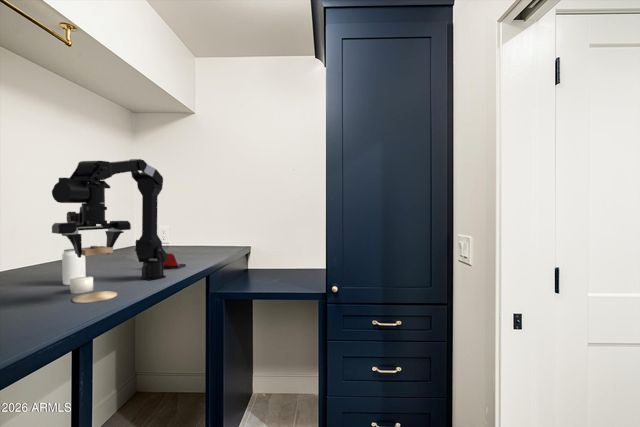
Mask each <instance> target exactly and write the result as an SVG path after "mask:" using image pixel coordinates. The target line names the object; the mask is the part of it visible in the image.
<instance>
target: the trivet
mask: <svg viewBox="0 0 640 427" xmlns="http://www.w3.org/2000/svg"><path fill="white" fill-rule="evenodd" d="M117 296H118V292H116V291H112V290H111V291H110V290H108V291H105V290H104V291H95V292H94V291H93V292H86V293H82V294H79V295H77V296H74V297H73V298H72V302H73V303H76V304H87V303H97V302H98V303H99V302H104V301H107V300H111V299H113V298H116V297H117Z"/></svg>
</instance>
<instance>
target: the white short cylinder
mask: <svg viewBox="0 0 640 427" xmlns="http://www.w3.org/2000/svg"><path fill="white" fill-rule="evenodd" d="M92 291H94V277H93V276H86V277H78V278H73V279H70V285H69V294H75V295H76V294H86V293H91V292H92Z"/></svg>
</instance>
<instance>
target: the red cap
mask: <svg viewBox="0 0 640 427" xmlns="http://www.w3.org/2000/svg"><path fill="white" fill-rule="evenodd" d="M166 254H167V255H168V258H167V261H165V262H163V270H167V269H168V270H178V269H182V268H185V267H186V266H187V264H186V263H178V261H177V260H176V256H175V255H174V254H173V253H169V252H166Z"/></svg>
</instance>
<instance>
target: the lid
mask: <svg viewBox="0 0 640 427" xmlns="http://www.w3.org/2000/svg"><path fill="white" fill-rule="evenodd" d="M107 253H110V254H113V253H114V247H113V248H111V247H106V245H105V246H102V245H100V246H98V245H90V246H87V247H82V254H81V255H84V256H85V257H86V256H97V255H104V254H106V255H107ZM75 254H76V252H75Z"/></svg>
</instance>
